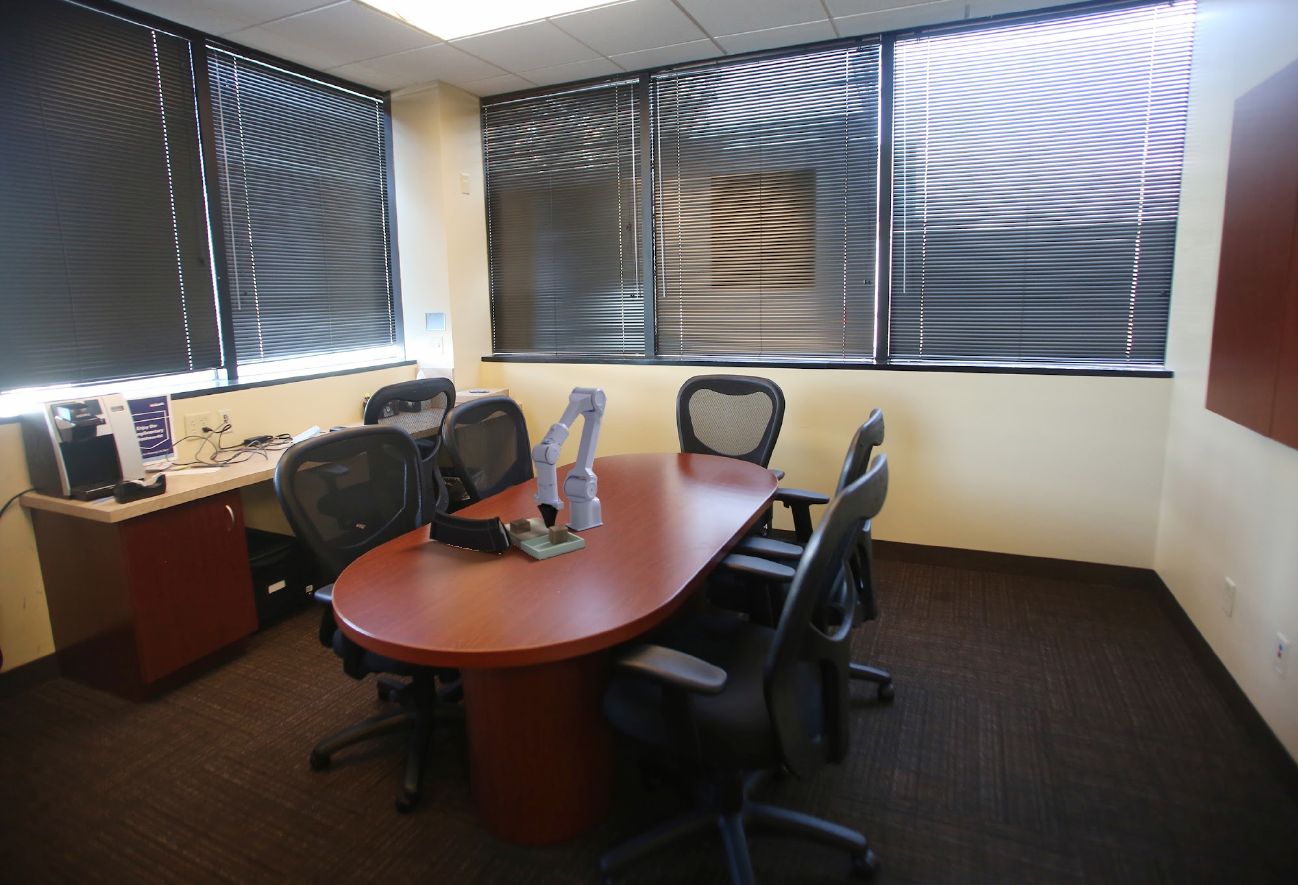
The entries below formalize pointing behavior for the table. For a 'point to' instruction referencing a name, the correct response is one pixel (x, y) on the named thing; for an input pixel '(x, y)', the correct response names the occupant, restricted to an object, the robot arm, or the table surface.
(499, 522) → the magazine
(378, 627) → the table surface
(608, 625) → the table surface
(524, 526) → the walnut block
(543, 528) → the maple board
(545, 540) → the box
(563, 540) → the walnut block
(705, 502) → the table surface
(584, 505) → the robot arm
